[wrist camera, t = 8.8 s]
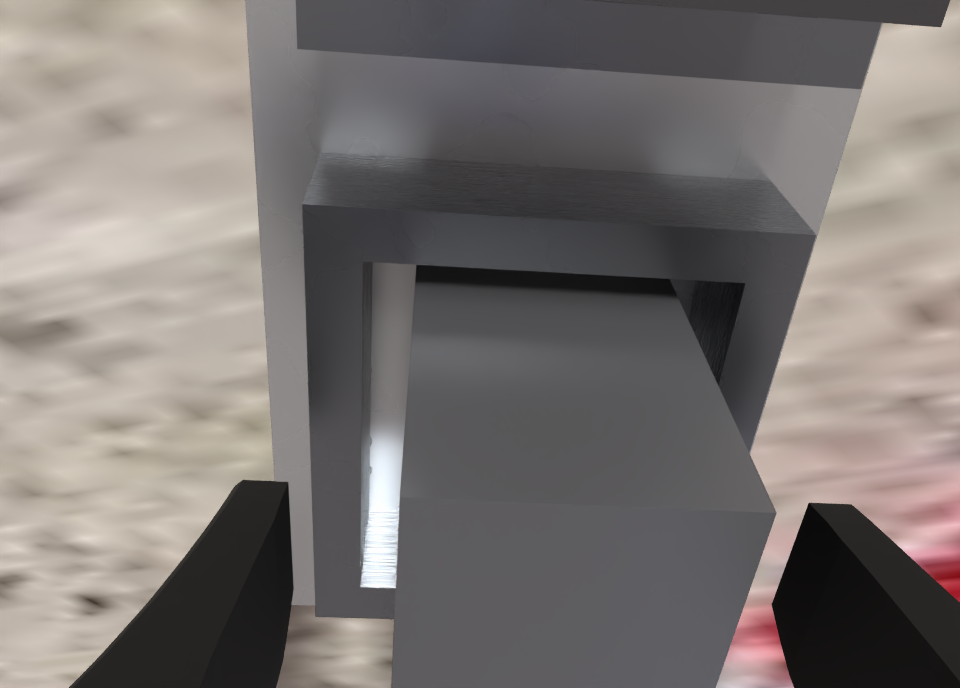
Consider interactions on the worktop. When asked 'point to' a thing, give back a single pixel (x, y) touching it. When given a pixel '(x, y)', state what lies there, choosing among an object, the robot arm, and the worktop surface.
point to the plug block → (567, 489)
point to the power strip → (523, 202)
